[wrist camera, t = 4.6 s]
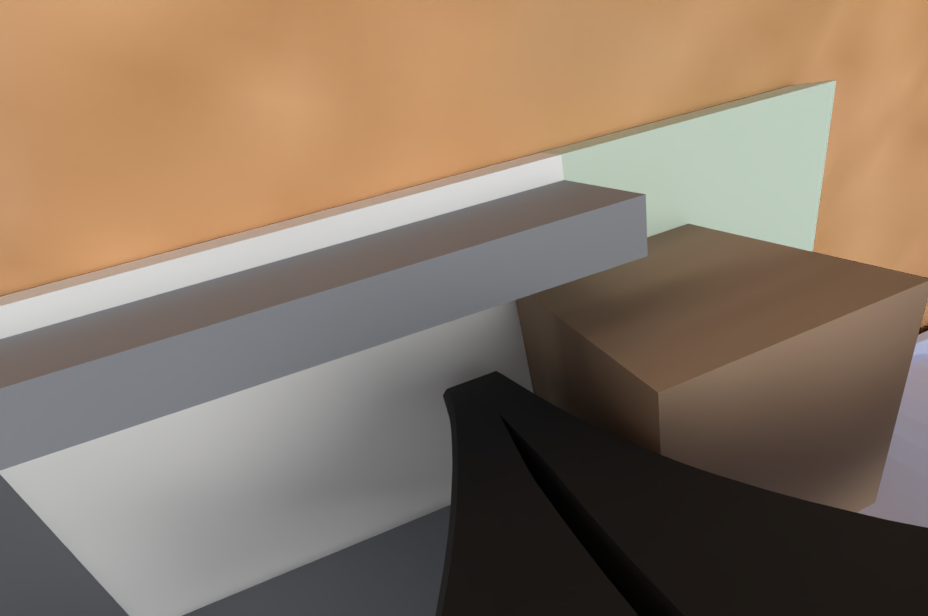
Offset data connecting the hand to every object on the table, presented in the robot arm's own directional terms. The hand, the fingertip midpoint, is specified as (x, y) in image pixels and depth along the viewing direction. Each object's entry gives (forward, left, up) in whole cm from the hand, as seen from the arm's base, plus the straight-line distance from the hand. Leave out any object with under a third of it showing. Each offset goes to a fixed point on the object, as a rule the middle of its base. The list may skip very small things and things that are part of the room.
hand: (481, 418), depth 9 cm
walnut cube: (0, -4, -1) cm, 4 cm away
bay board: (0, -1, -2) cm, 2 cm away
